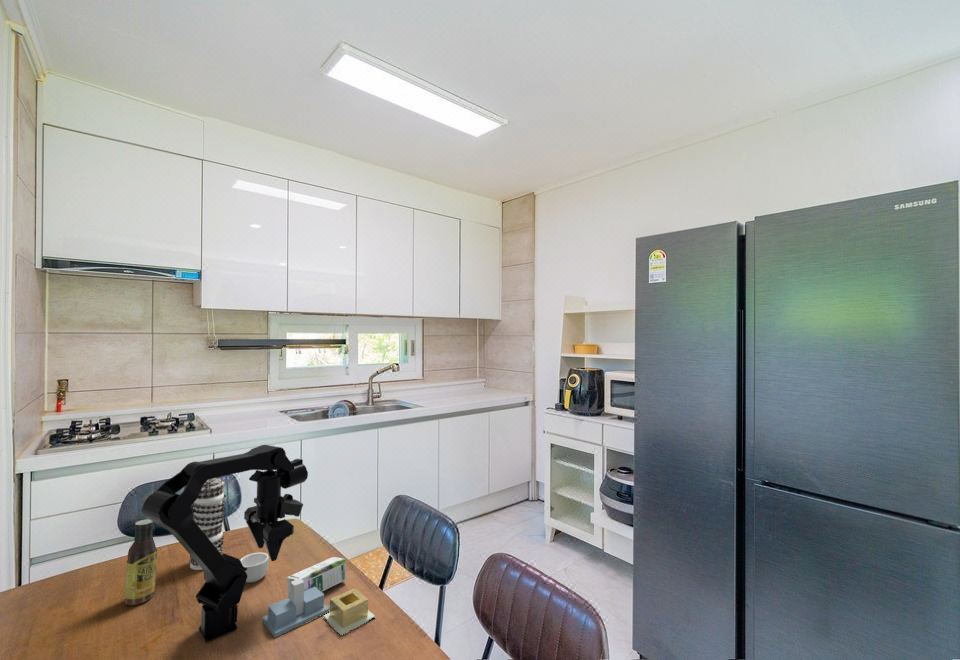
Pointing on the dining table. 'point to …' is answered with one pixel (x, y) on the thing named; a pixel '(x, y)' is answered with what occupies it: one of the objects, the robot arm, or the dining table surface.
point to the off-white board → (350, 627)
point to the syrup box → (321, 575)
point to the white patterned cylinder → (210, 514)
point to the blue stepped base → (295, 609)
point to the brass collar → (348, 607)
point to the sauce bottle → (141, 565)
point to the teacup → (255, 566)
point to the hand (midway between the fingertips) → (267, 554)
